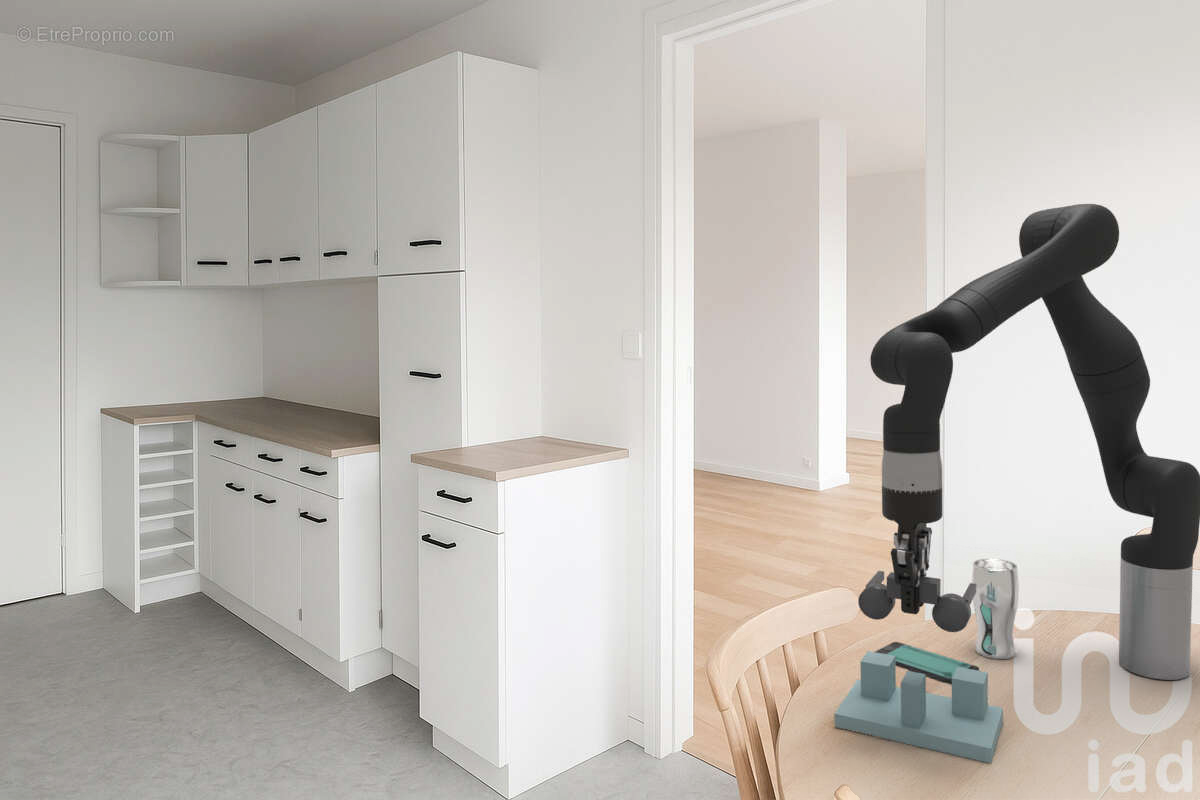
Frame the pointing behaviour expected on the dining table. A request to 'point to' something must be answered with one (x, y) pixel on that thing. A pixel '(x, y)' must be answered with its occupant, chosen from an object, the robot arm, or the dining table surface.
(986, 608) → the beer glass
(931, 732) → the stand
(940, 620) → the glasses
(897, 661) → the smartphone
